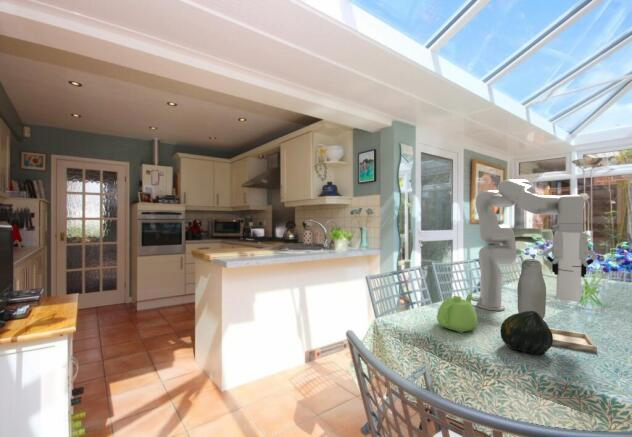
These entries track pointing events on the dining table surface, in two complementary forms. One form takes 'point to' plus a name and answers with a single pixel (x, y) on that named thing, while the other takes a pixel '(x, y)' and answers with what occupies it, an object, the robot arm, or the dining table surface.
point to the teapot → (457, 314)
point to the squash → (527, 332)
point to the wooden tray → (573, 340)
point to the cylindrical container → (569, 269)
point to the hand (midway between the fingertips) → (568, 275)
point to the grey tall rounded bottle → (531, 288)
